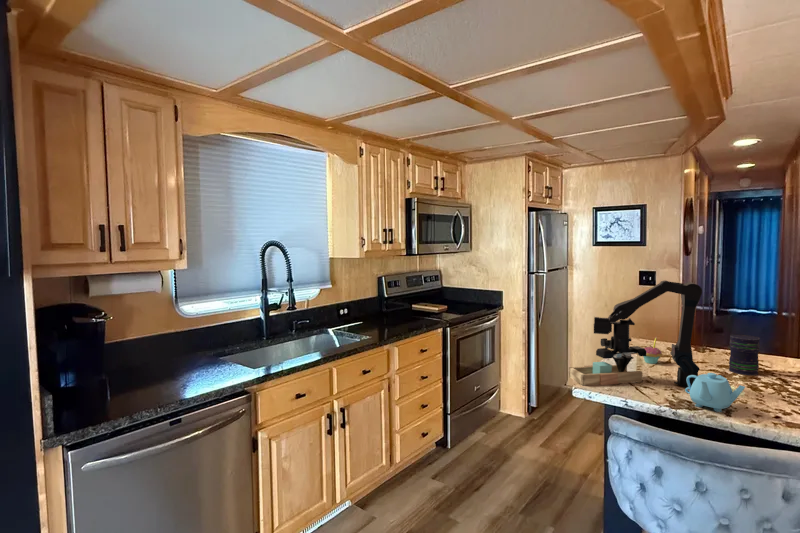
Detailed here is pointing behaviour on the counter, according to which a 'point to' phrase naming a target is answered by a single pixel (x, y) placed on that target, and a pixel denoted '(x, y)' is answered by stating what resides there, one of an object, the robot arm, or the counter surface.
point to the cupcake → (652, 354)
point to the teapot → (712, 391)
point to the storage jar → (744, 354)
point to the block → (601, 367)
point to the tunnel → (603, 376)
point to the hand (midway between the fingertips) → (620, 373)
